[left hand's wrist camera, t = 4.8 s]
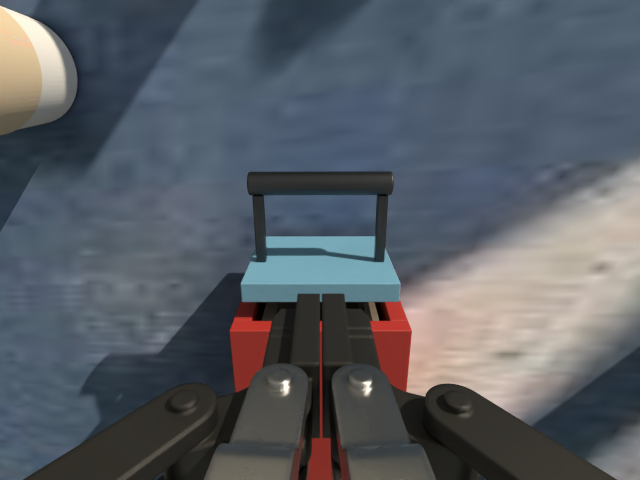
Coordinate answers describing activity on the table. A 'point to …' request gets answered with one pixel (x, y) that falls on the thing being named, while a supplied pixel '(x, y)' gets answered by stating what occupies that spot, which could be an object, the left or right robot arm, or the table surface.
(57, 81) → the coffee cup
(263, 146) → the table surface
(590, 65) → the table surface
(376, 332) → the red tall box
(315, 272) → the drawer
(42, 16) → the table surface
